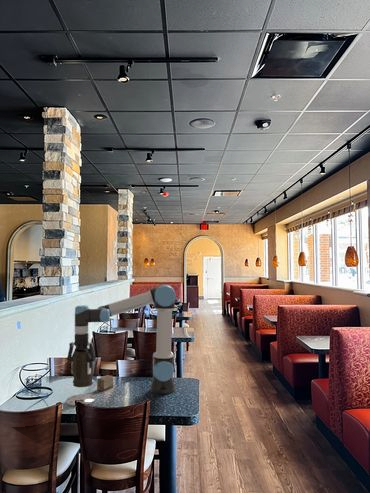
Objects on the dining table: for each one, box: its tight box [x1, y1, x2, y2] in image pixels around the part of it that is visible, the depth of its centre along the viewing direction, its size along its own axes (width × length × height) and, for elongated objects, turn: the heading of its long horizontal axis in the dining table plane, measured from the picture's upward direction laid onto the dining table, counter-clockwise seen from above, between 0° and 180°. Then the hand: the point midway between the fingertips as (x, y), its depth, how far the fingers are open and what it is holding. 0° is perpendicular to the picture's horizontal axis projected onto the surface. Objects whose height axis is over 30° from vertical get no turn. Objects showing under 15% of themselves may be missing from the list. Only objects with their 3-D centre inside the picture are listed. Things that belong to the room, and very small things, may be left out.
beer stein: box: [71, 348, 94, 388], centre depth 215 cm, size 15×11×20 cm
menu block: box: [96, 374, 114, 392], centre depth 235 cm, size 5×9×7 cm, turn 149°
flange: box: [65, 393, 96, 407], centre depth 214 cm, size 16×16×1 cm
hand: (81, 373), depth 215 cm, fingers closed on beer stein, 9 cm apart
